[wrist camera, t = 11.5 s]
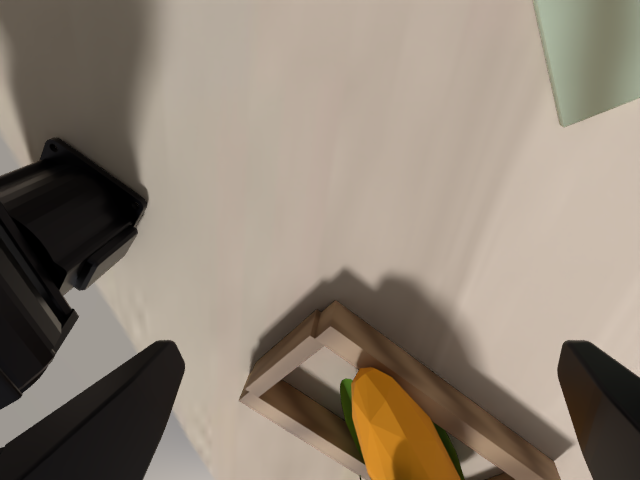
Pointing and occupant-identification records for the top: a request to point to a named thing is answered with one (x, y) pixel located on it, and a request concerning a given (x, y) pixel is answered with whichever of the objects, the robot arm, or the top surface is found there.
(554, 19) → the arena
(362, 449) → the corn
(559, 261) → the top surface
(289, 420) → the cob rest
